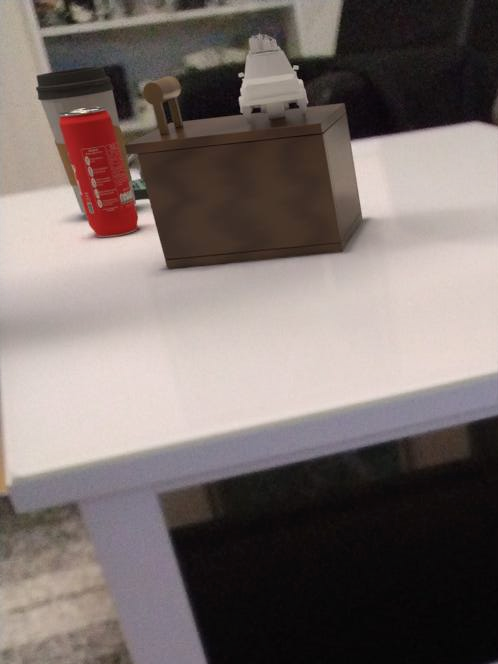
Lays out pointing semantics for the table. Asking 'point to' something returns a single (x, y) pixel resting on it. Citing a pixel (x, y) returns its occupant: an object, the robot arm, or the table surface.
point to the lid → (222, 123)
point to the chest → (254, 198)
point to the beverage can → (99, 171)
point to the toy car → (270, 81)
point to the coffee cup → (78, 93)
